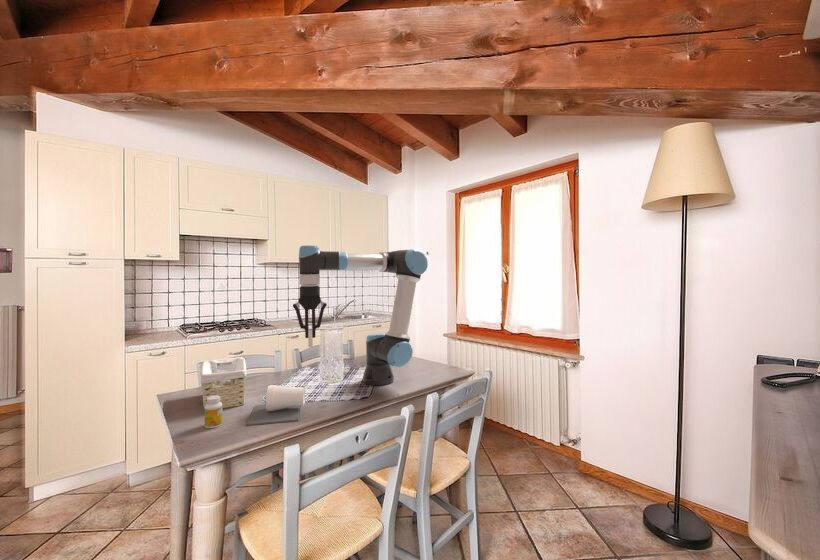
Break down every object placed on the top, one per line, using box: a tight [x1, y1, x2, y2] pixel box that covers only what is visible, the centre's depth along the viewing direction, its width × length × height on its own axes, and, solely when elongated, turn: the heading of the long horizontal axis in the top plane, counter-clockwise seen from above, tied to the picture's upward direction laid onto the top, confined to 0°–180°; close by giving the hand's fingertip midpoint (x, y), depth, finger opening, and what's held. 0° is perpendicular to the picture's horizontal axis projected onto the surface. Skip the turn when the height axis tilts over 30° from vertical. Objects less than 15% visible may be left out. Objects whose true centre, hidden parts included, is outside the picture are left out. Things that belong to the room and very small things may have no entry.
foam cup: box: [265, 384, 306, 412], centre depth 136 cm, size 10×9×13 cm
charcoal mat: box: [246, 403, 301, 427], centre depth 133 cm, size 17×18×1 cm
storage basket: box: [200, 356, 247, 410], centre depth 147 cm, size 24×16×15 cm
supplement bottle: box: [204, 396, 224, 429], centre depth 123 cm, size 5×5×10 cm
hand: (310, 346), depth 138 cm, fingers closed
